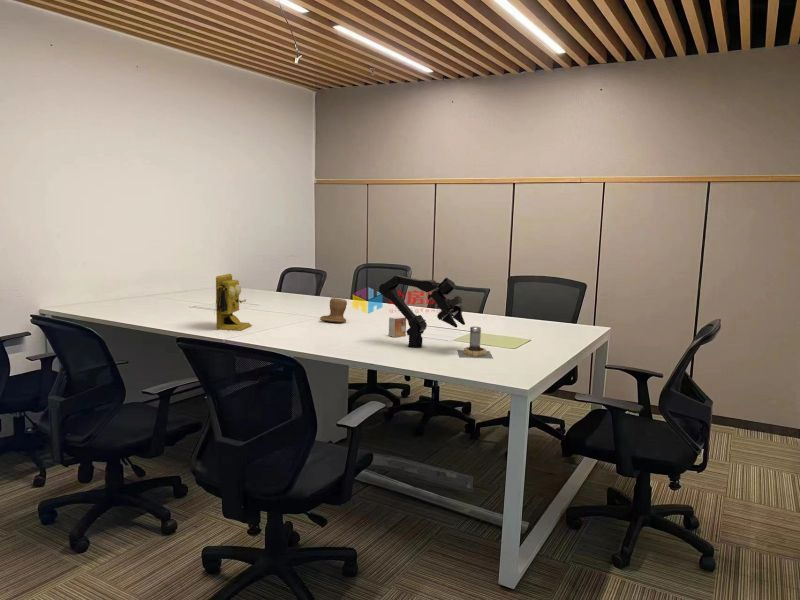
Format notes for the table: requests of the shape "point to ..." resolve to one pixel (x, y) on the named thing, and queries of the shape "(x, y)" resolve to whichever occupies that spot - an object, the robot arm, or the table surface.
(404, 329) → the small box
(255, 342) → the table surface
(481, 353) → the ring collar
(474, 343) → the grey tall cylinder
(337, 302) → the brown suede boot shape
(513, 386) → the table surface
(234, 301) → the vintage telephone
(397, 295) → the robot arm
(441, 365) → the table surface
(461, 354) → the mat
